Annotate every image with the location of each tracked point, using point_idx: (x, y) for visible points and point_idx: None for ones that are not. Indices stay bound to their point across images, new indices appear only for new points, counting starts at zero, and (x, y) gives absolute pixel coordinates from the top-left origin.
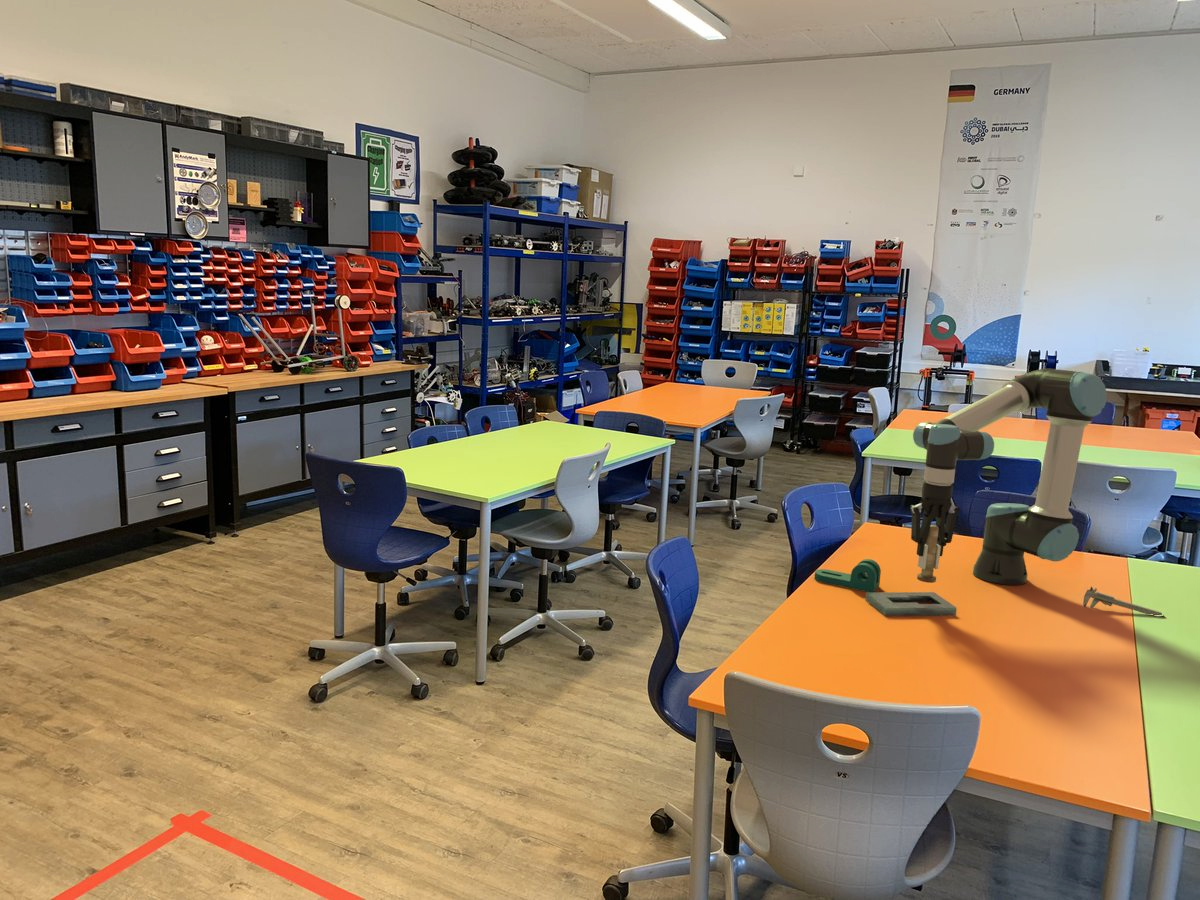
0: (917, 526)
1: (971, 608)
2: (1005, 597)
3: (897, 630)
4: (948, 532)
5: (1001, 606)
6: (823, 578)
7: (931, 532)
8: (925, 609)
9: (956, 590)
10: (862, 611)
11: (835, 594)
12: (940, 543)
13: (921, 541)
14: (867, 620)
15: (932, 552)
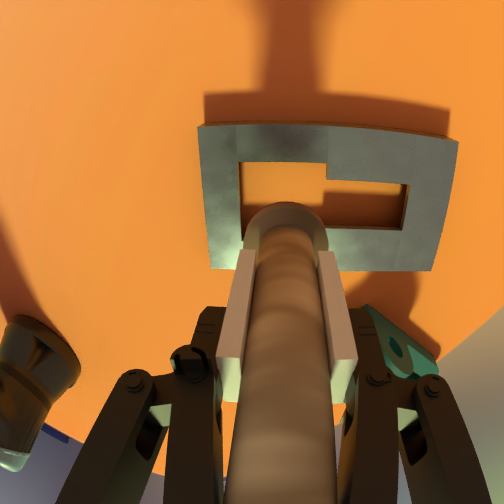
0: (474, 495)
1: (127, 188)
2: (38, 262)
3: (461, 33)
4: (127, 452)
5: (53, 207)
6: (434, 360)
7: (322, 471)
8: (322, 124)
9: (127, 309)
10: (479, 180)
11: (460, 293)
12: (214, 376)
13: (393, 390)
14: (499, 118)
15: (289, 316)
